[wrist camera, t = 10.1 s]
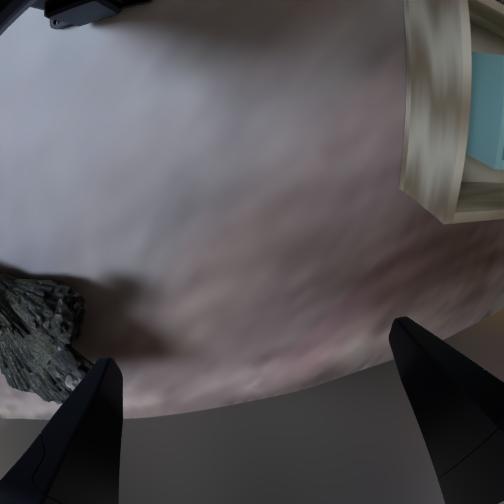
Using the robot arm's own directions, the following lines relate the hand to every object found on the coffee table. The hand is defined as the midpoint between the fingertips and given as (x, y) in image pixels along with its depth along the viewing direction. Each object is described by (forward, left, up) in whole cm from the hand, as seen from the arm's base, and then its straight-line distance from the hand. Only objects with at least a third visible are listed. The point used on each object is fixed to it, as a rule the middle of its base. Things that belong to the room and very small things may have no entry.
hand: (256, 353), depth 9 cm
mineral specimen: (+7, -17, -12) cm, 22 cm away
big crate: (-7, +19, -12) cm, 23 cm away
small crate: (-7, +19, -11) cm, 23 cm away
